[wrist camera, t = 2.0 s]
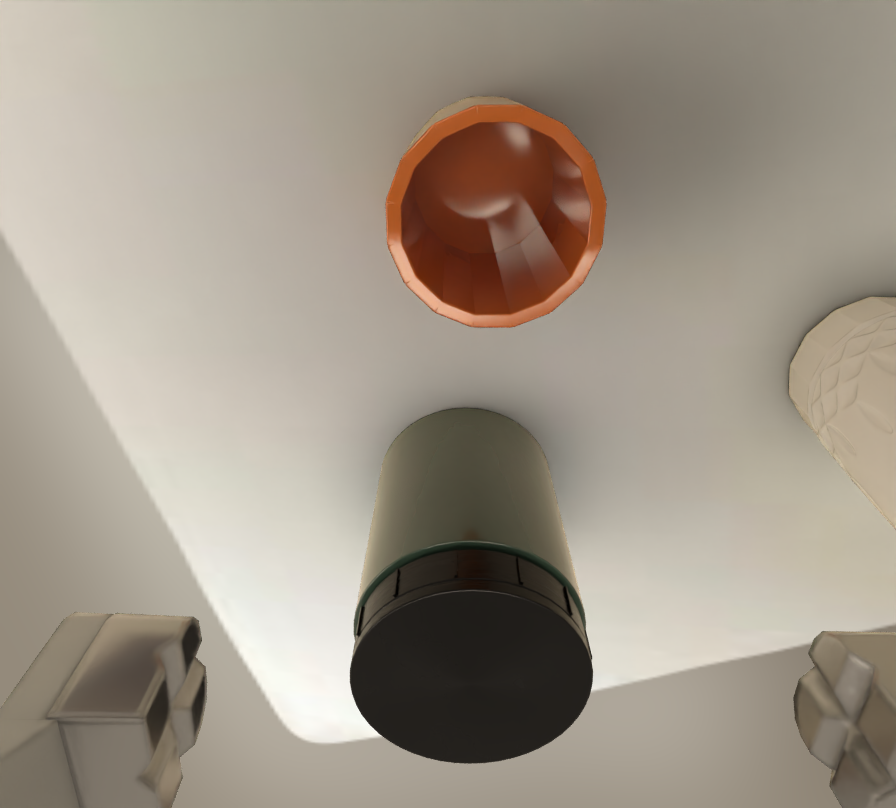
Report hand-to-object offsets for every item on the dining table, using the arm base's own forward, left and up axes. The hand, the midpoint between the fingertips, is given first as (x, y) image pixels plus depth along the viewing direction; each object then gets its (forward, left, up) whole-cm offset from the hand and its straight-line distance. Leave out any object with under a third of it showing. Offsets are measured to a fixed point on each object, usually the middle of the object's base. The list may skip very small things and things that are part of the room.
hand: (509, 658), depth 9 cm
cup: (-3, +2, -22) cm, 22 cm away
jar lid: (+10, -4, -10) cm, 15 cm away
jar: (+10, -4, -22) cm, 24 cm away
